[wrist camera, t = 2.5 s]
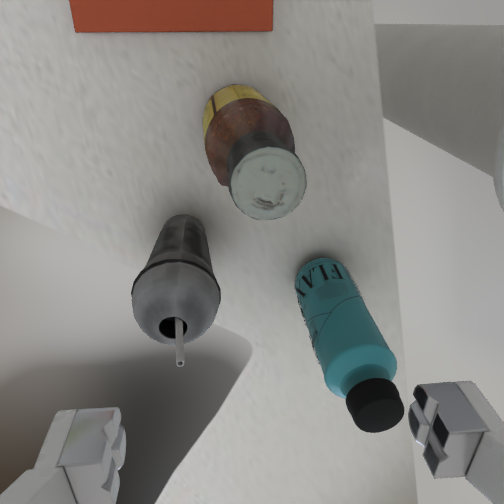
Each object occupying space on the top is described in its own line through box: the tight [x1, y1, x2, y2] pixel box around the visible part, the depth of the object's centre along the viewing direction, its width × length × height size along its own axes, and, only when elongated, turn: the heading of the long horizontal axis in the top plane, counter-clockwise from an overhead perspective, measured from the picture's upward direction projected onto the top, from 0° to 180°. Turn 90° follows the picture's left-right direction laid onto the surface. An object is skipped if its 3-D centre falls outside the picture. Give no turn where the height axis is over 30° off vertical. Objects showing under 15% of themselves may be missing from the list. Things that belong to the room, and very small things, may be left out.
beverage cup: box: [131, 215, 221, 367], centre depth 35 cm, size 7×7×20 cm
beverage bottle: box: [294, 258, 404, 433], centre depth 39 cm, size 6×7×20 cm
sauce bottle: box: [203, 85, 307, 220], centre depth 30 cm, size 6×6×20 cm
